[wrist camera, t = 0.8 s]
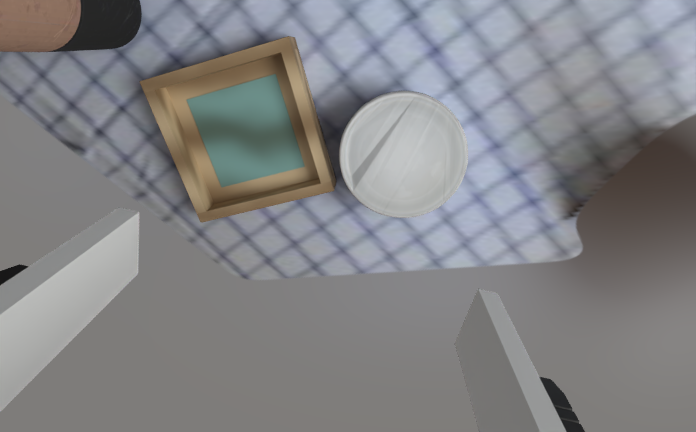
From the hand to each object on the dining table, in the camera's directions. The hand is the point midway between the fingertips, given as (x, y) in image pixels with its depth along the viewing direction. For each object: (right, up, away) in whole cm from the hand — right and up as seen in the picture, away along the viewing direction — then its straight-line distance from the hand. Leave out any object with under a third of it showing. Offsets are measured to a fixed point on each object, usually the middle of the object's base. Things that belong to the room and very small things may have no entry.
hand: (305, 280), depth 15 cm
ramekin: (+7, +9, +24) cm, 27 cm away
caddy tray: (-8, +11, +24) cm, 28 cm away
